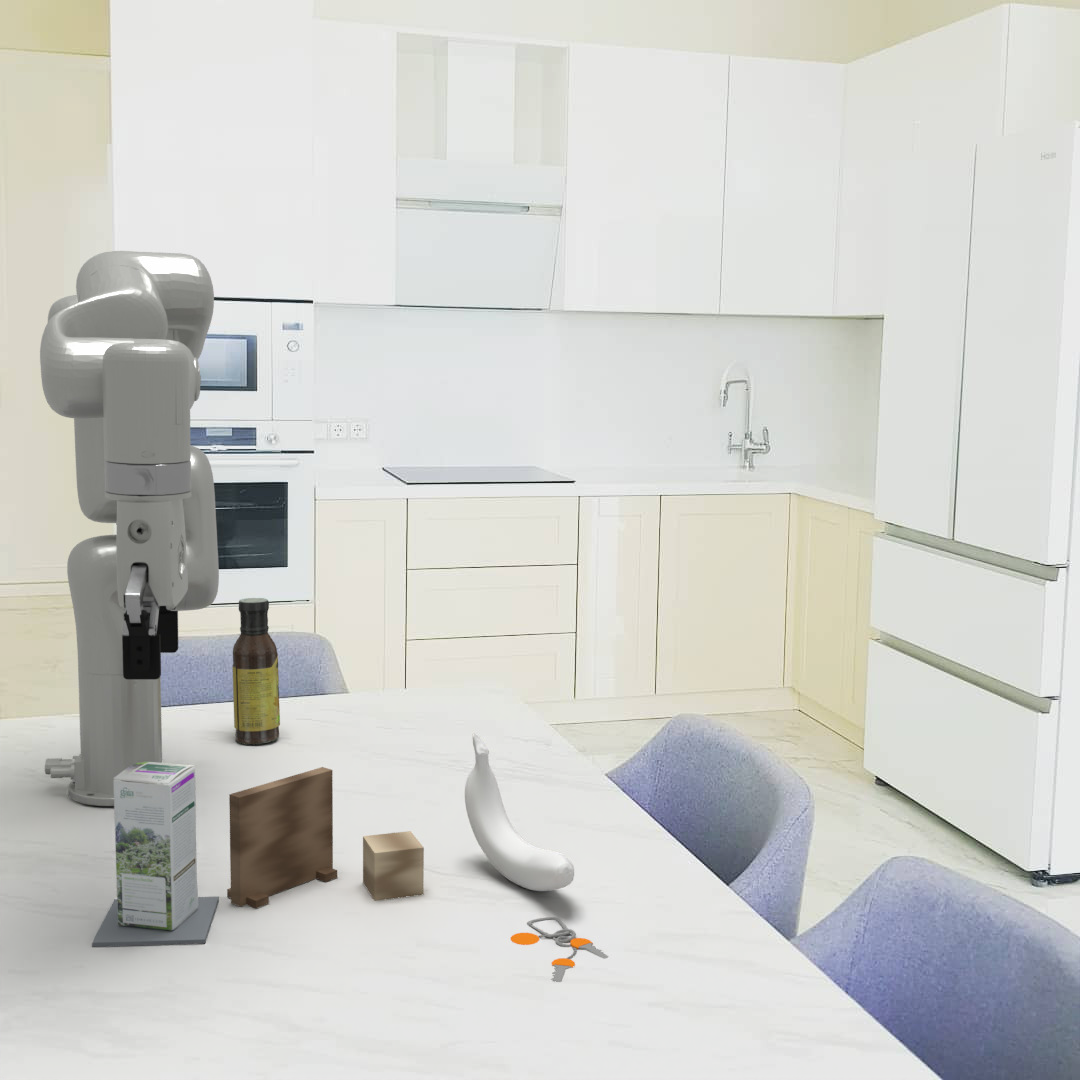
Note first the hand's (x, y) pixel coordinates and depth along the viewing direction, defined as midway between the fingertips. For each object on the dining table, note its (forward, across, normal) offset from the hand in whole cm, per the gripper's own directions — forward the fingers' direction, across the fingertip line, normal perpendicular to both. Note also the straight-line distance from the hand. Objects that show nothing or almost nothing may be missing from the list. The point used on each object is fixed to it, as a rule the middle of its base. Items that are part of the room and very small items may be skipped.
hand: (151, 664), depth 125 cm
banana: (+25, +6, -35) cm, 44 cm away
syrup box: (+24, -1, 0) cm, 25 cm away
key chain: (+25, -9, -37) cm, 46 cm away
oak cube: (+25, +6, -22) cm, 34 cm away
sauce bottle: (+27, +61, -3) cm, 66 cm away
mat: (+25, -1, 0) cm, 25 cm away
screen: (+25, +7, -11) cm, 28 cm away
